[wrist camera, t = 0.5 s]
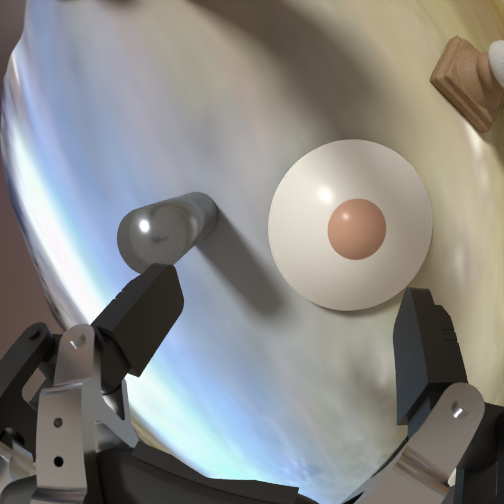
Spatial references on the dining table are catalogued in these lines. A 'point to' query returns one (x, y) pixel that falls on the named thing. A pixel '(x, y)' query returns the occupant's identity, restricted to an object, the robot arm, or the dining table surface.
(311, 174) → the disc
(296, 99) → the dining table surface
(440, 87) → the candle holder
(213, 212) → the cup
